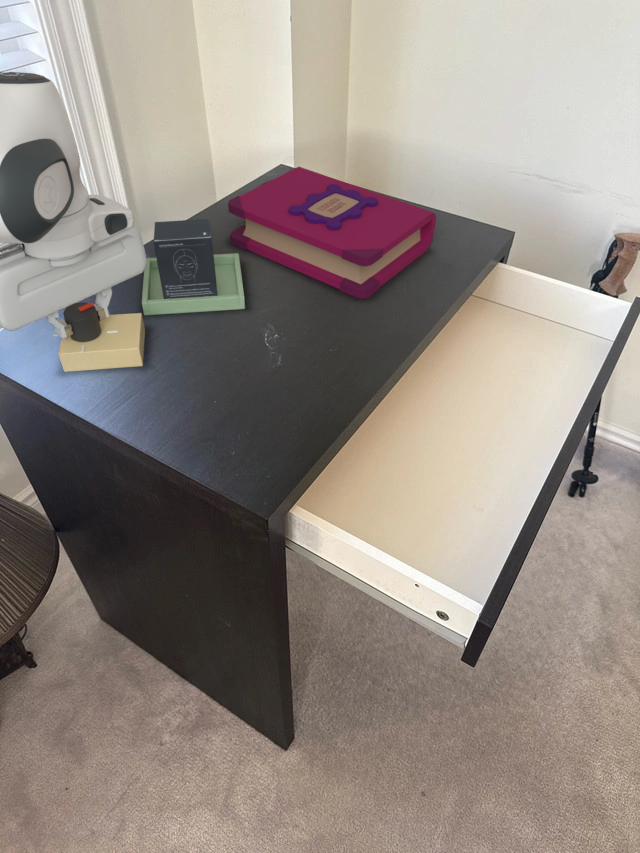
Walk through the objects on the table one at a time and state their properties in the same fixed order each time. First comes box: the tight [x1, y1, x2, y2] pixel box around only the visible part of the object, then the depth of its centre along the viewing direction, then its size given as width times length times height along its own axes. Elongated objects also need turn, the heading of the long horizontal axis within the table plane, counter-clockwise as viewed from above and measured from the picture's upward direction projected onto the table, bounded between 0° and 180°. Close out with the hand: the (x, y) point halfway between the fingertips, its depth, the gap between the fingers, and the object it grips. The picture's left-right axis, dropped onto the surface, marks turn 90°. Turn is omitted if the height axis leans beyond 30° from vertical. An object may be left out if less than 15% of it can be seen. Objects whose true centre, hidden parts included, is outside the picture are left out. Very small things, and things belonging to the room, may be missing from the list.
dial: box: [62, 301, 101, 342], centre depth 82 cm, size 4×4×4 cm
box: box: [152, 218, 218, 299], centre depth 91 cm, size 8×6×11 cm
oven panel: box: [52, 312, 146, 373], centre depth 84 cm, size 11×8×3 cm
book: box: [227, 166, 437, 300], centre depth 105 cm, size 21×28×8 cm
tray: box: [141, 252, 246, 316], centre depth 96 cm, size 15×13×2 cm
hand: (84, 326), depth 82 cm, fingers closed on dial, 4 cm apart
